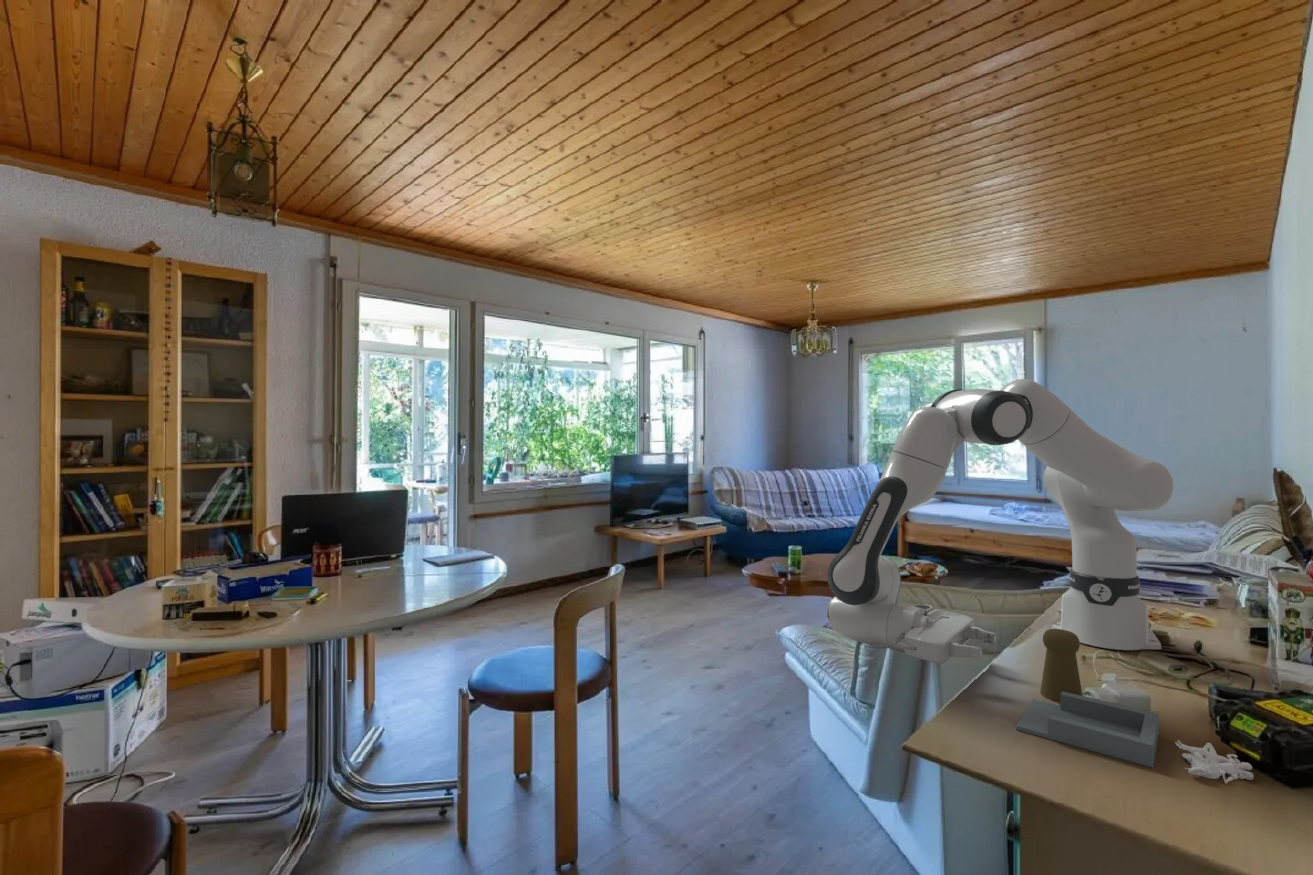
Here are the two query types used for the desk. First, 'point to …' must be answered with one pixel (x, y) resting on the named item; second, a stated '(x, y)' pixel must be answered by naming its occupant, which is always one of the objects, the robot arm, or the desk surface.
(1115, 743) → the tray
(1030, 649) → the desk surface
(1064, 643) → the cork
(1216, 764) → the figurine
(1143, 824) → the desk surface
